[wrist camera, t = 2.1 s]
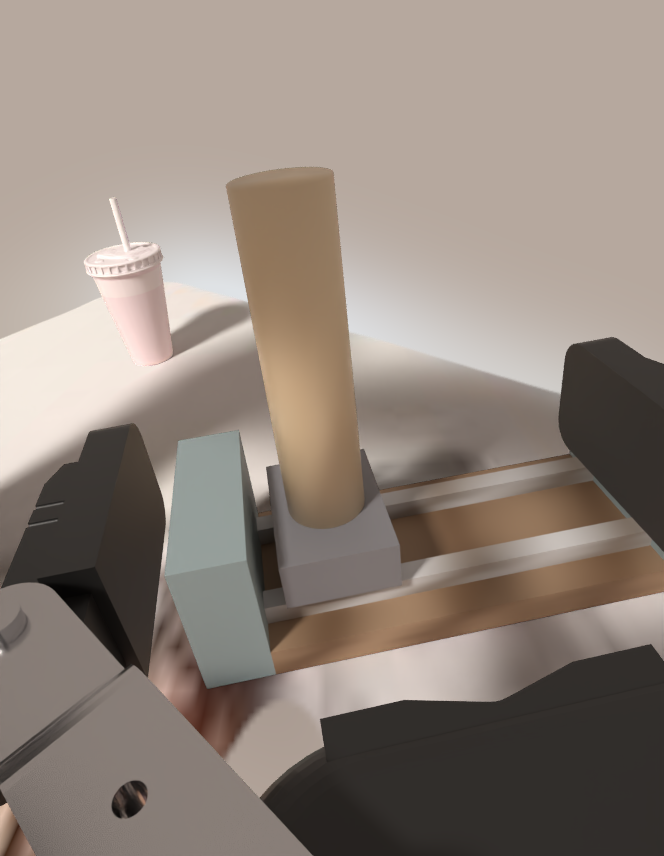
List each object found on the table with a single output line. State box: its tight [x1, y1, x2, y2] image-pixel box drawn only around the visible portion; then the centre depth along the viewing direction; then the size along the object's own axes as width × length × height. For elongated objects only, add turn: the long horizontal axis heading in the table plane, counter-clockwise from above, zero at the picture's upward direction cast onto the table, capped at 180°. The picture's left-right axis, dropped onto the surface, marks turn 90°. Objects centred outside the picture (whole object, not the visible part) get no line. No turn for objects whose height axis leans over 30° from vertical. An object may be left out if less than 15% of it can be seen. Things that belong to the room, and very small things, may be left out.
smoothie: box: [84, 197, 173, 366], centre depth 50 cm, size 6×6×14 cm
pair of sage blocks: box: [165, 430, 664, 689], centre depth 28 cm, size 24×9×7 cm, turn 100°
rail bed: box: [205, 454, 664, 689], centre depth 29 cm, size 24×9×2 cm, turn 100°
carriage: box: [226, 167, 402, 609], centre depth 23 cm, size 5×7×16 cm
